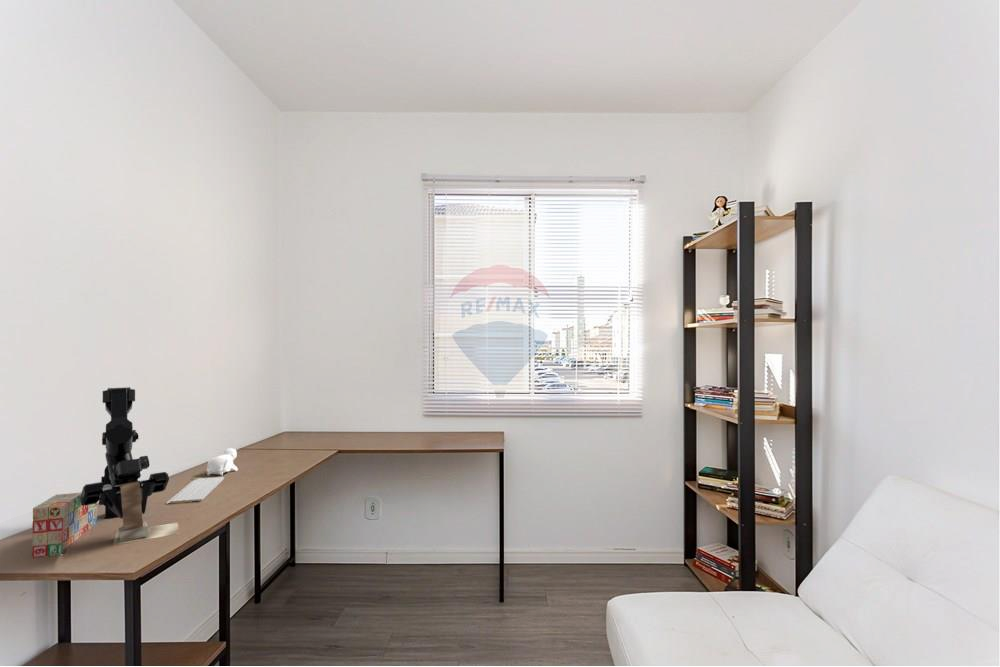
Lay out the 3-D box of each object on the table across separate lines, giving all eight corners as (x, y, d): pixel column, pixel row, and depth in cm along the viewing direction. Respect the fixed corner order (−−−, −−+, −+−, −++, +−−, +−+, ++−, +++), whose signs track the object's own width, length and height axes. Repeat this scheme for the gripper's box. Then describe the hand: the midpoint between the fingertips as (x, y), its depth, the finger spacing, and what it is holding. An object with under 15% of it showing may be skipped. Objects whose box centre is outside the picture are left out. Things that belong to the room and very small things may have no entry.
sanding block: (120, 542, 136) (116, 489, 135) (119, 536, 140) (115, 485, 139) (148, 535, 139) (144, 484, 139) (146, 530, 143) (142, 480, 143)
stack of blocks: (70, 530, 149) (71, 485, 150) (97, 527, 151) (98, 483, 152) (31, 559, 129) (32, 507, 129) (63, 555, 131) (63, 504, 131)
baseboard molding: (160, 506, 173) (202, 503, 176) (160, 497, 173) (202, 494, 176) (188, 483, 202) (224, 480, 206) (189, 475, 203) (224, 473, 206)
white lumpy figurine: (227, 483, 212) (245, 461, 226) (223, 464, 209) (241, 443, 223) (206, 483, 212) (224, 461, 226) (201, 464, 209) (221, 443, 223)
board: (113, 549, 134) (113, 544, 134) (115, 536, 143) (115, 532, 143) (179, 538, 142) (179, 533, 142) (177, 526, 151) (177, 522, 151)
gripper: (83, 452, 135) (93, 505, 128) (167, 442, 149) (181, 489, 141) (76, 479, 140) (85, 531, 133) (157, 466, 154) (170, 513, 147)
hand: (132, 515), depth 138 cm, fingers closed on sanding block, 4 cm apart
